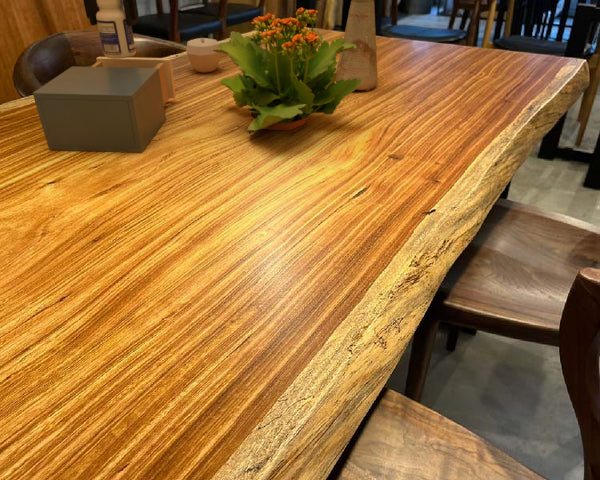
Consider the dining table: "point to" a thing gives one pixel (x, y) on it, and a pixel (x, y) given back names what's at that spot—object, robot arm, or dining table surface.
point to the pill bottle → (114, 30)
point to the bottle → (360, 46)
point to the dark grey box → (101, 109)
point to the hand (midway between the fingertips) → (114, 22)
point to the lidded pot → (203, 54)
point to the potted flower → (286, 72)
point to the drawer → (160, 63)
